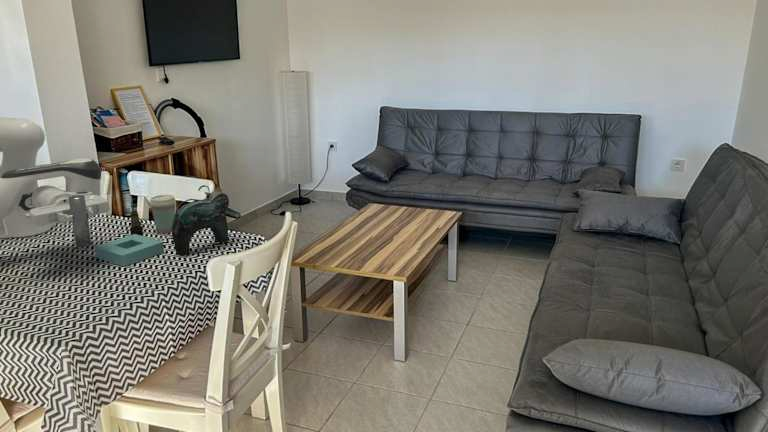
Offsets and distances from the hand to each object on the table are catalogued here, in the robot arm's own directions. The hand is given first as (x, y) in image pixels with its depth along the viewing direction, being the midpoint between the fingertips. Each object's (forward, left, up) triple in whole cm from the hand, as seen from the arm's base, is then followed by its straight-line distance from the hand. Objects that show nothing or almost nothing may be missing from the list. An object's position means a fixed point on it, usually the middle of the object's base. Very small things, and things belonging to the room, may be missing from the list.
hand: (80, 217), depth 161 cm
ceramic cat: (+11, +32, -17) cm, 38 cm away
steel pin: (-1, 0, -8) cm, 8 cm away
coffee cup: (-13, +36, -17) cm, 42 cm away
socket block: (-3, +15, -17) cm, 23 cm away
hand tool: (-25, +32, -17) cm, 44 cm away
